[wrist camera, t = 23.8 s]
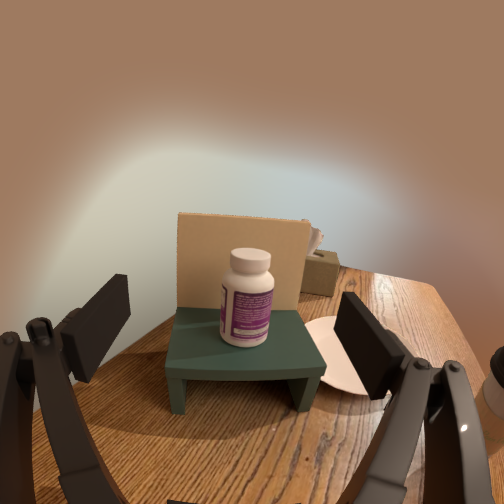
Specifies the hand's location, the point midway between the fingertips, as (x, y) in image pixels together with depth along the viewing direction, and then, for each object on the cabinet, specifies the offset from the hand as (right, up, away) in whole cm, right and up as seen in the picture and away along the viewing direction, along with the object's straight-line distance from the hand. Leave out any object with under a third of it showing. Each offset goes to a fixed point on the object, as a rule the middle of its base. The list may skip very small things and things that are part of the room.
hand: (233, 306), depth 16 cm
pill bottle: (0, -6, +14) cm, 15 cm away
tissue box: (+12, -5, +51) cm, 52 cm away
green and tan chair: (-1, -14, +16) cm, 21 cm away
